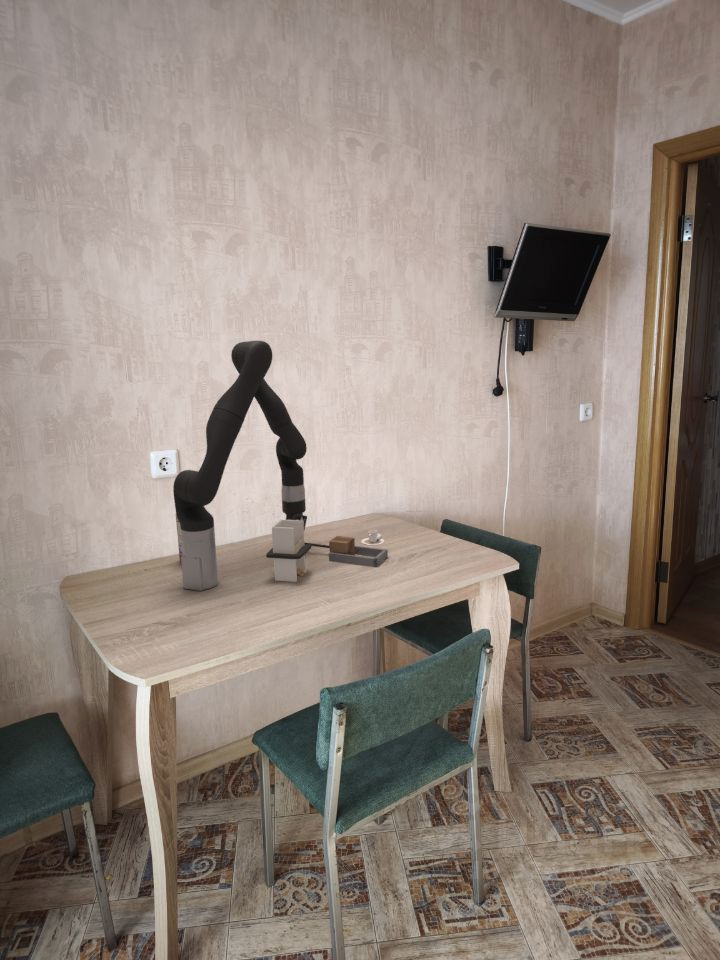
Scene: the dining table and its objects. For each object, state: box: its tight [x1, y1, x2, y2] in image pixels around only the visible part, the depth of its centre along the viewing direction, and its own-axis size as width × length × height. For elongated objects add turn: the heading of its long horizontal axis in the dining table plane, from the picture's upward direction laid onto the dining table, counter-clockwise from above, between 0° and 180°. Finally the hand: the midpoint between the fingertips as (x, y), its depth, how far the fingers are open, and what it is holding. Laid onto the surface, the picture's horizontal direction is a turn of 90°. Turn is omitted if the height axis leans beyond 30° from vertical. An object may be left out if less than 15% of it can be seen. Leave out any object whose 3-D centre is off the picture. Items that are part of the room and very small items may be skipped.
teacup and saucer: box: [360, 529, 386, 546], centre depth 225 cm, size 9×8×4 cm
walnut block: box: [304, 535, 356, 555], centre depth 212 cm, size 6×20×6 cm, turn 66°
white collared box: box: [265, 519, 312, 583], centre depth 193 cm, size 25×24×16 cm
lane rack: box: [328, 545, 389, 568], centre depth 208 cm, size 10×16×2 cm, turn 67°
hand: (295, 548), depth 217 cm, fingers closed on walnut block, 2 cm apart
